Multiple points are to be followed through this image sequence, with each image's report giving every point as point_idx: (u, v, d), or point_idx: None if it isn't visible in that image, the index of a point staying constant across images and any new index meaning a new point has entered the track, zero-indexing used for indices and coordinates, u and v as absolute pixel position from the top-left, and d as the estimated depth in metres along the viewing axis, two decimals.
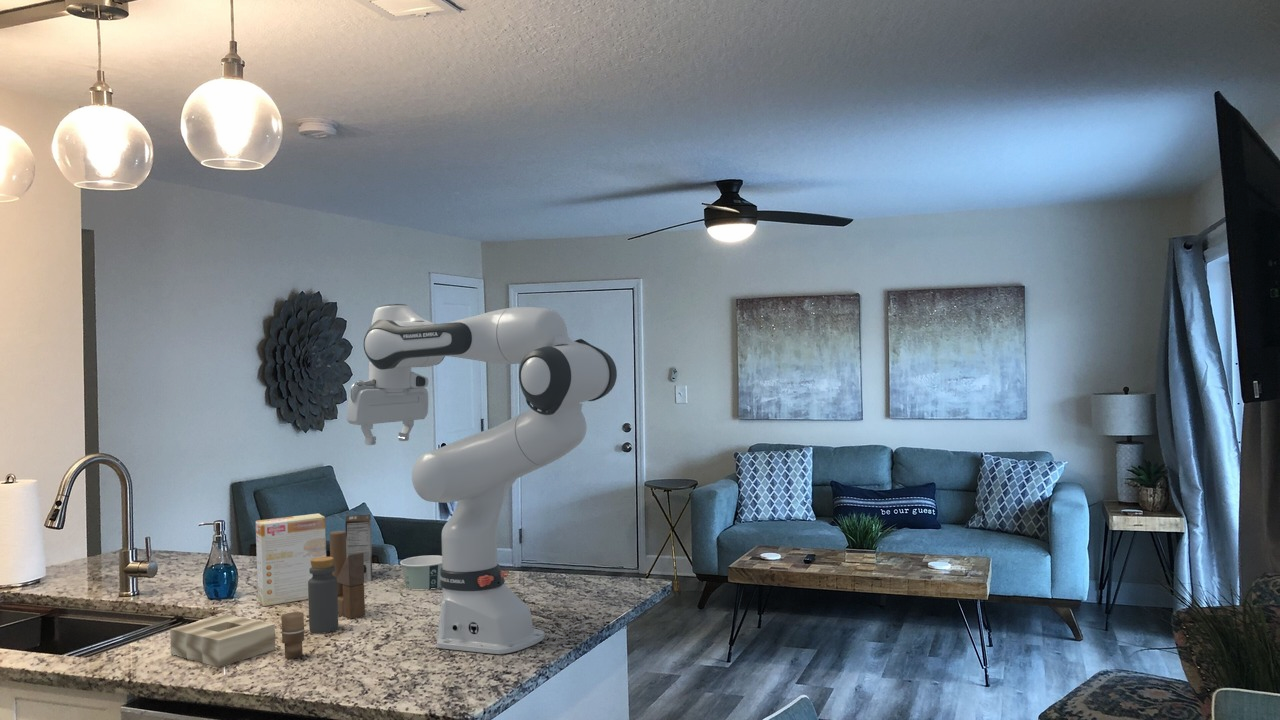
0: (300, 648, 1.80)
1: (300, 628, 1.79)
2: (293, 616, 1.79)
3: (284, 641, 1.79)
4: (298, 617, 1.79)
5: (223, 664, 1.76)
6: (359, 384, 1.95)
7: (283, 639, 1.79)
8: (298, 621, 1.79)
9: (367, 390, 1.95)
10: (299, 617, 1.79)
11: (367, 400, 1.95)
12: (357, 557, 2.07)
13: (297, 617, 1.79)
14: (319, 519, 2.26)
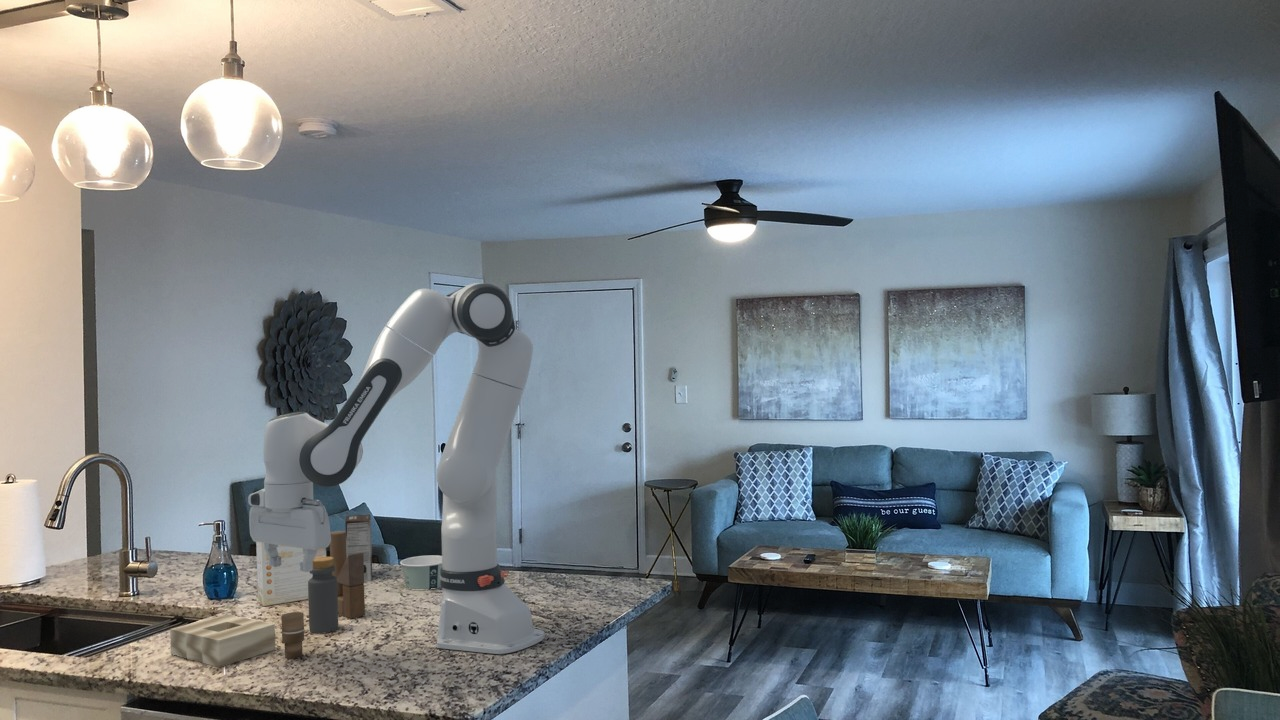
0: (300, 648, 1.80)
1: (300, 628, 1.79)
2: (293, 616, 1.79)
3: (284, 641, 1.79)
4: (298, 617, 1.79)
5: (223, 664, 1.76)
6: None
7: (283, 639, 1.79)
8: (298, 621, 1.79)
9: None
10: (299, 617, 1.79)
11: None
12: (357, 557, 2.07)
13: (297, 617, 1.79)
14: None
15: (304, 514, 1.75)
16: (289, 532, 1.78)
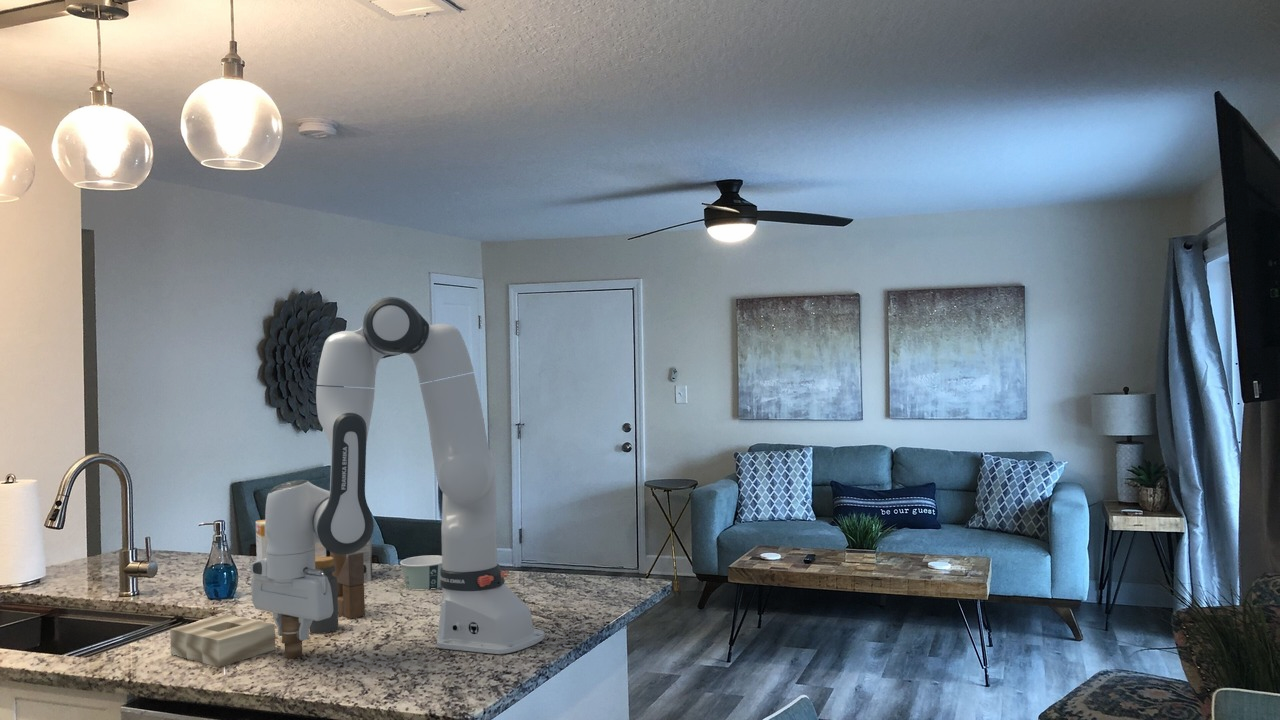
0: (300, 648, 1.80)
1: None
2: (293, 616, 1.79)
3: (284, 641, 1.79)
4: (298, 617, 1.79)
5: (223, 664, 1.76)
6: None
7: (283, 639, 1.79)
8: (298, 621, 1.79)
9: None
10: None
11: None
12: (357, 557, 2.07)
13: (297, 617, 1.79)
14: None
15: (307, 585, 1.75)
16: (291, 602, 1.78)
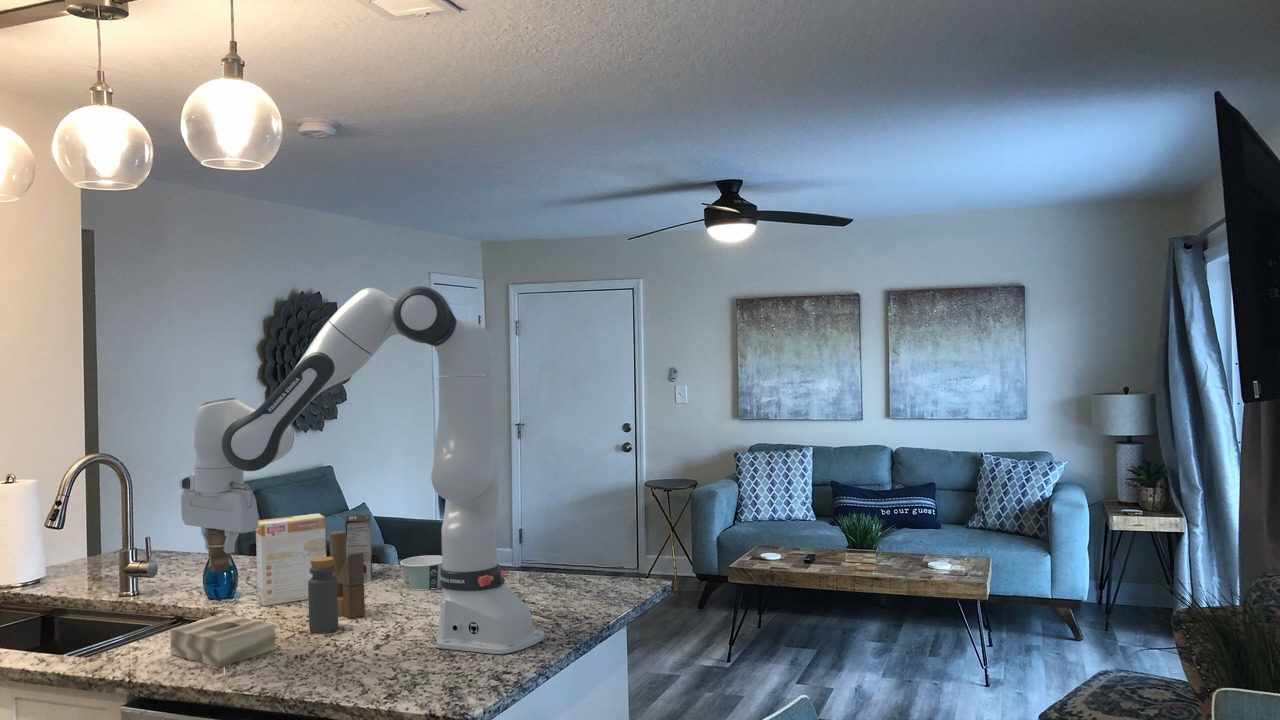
0: (226, 562, 1.84)
1: None
2: (219, 530, 1.83)
3: (210, 554, 1.82)
4: (224, 531, 1.83)
5: (223, 664, 1.76)
6: None
7: (209, 552, 1.83)
8: (224, 535, 1.83)
9: None
10: None
11: None
12: (357, 557, 2.07)
13: (223, 531, 1.83)
14: (319, 519, 2.26)
15: (232, 498, 1.79)
16: (218, 515, 1.81)
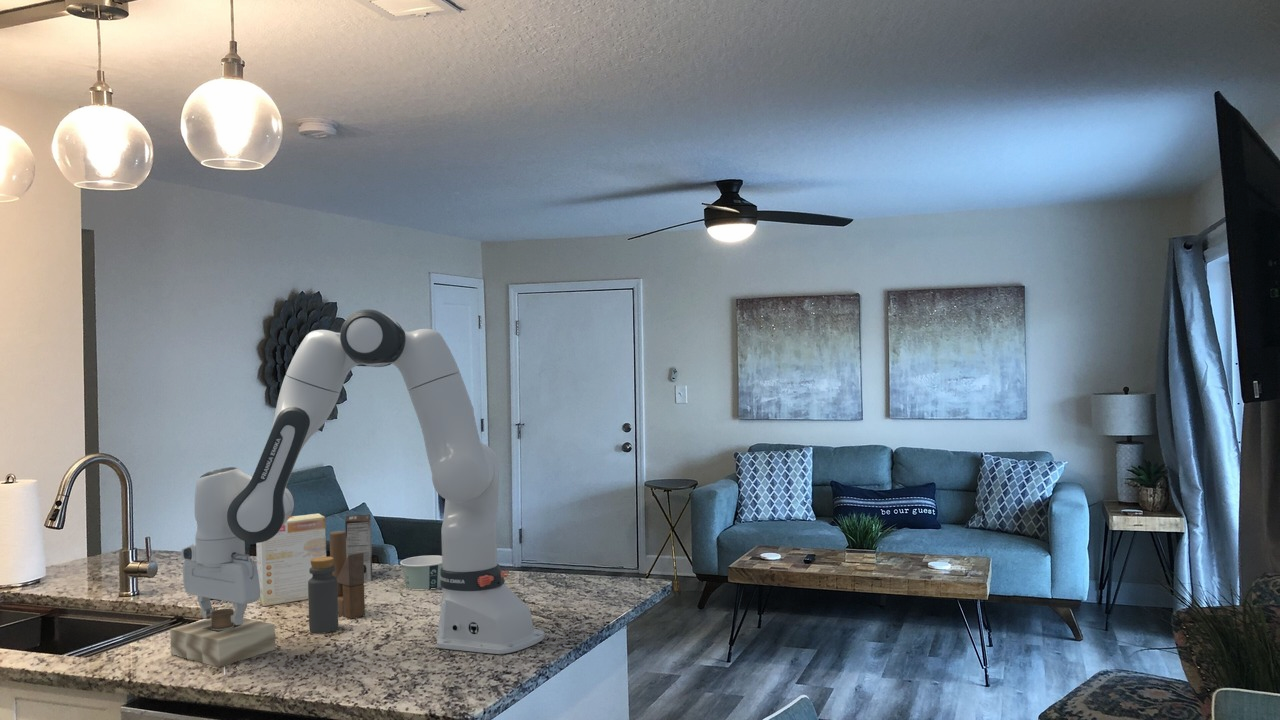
0: None
1: (229, 624, 1.83)
2: (222, 613, 1.83)
3: None
4: (227, 614, 1.83)
5: (223, 664, 1.76)
6: None
7: None
8: (227, 618, 1.83)
9: None
10: (229, 614, 1.83)
11: None
12: (357, 557, 2.07)
13: (226, 614, 1.83)
14: (319, 519, 2.26)
15: (234, 570, 1.79)
16: (220, 586, 1.82)
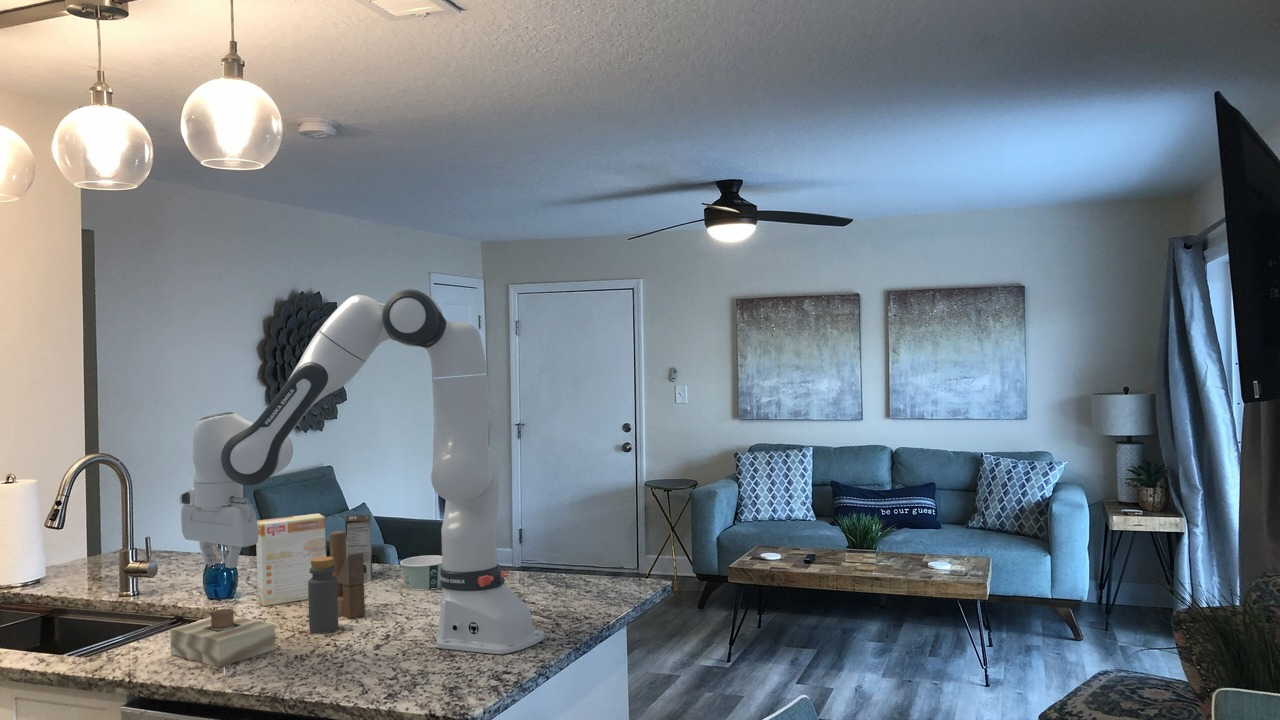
0: None
1: (229, 624, 1.83)
2: (222, 613, 1.83)
3: None
4: (227, 614, 1.83)
5: (223, 664, 1.76)
6: None
7: None
8: (227, 618, 1.83)
9: None
10: (229, 614, 1.83)
11: None
12: (357, 557, 2.07)
13: (226, 614, 1.83)
14: (319, 519, 2.26)
15: (232, 512, 1.79)
16: (218, 530, 1.82)
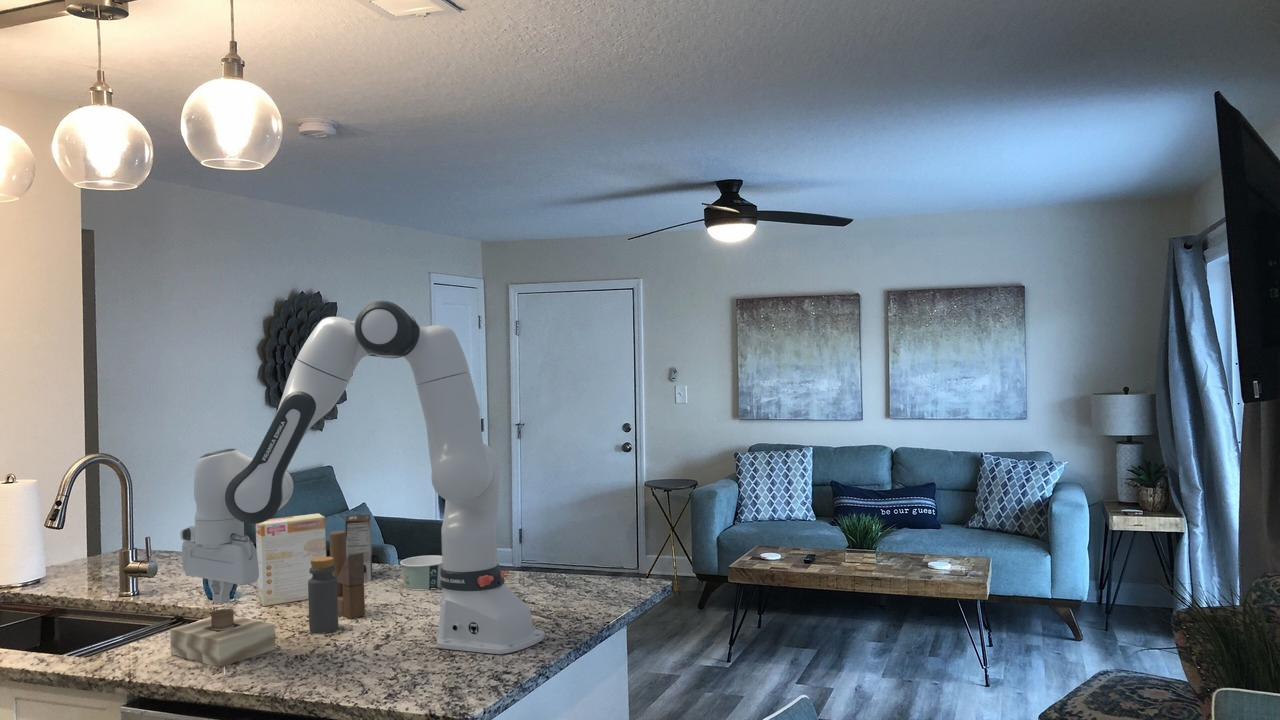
0: None
1: (229, 624, 1.83)
2: (222, 613, 1.83)
3: None
4: (227, 614, 1.83)
5: (223, 664, 1.76)
6: None
7: None
8: (227, 618, 1.83)
9: None
10: (229, 614, 1.83)
11: None
12: (357, 557, 2.07)
13: (226, 614, 1.83)
14: (319, 519, 2.26)
15: (233, 550, 1.79)
16: (219, 567, 1.82)
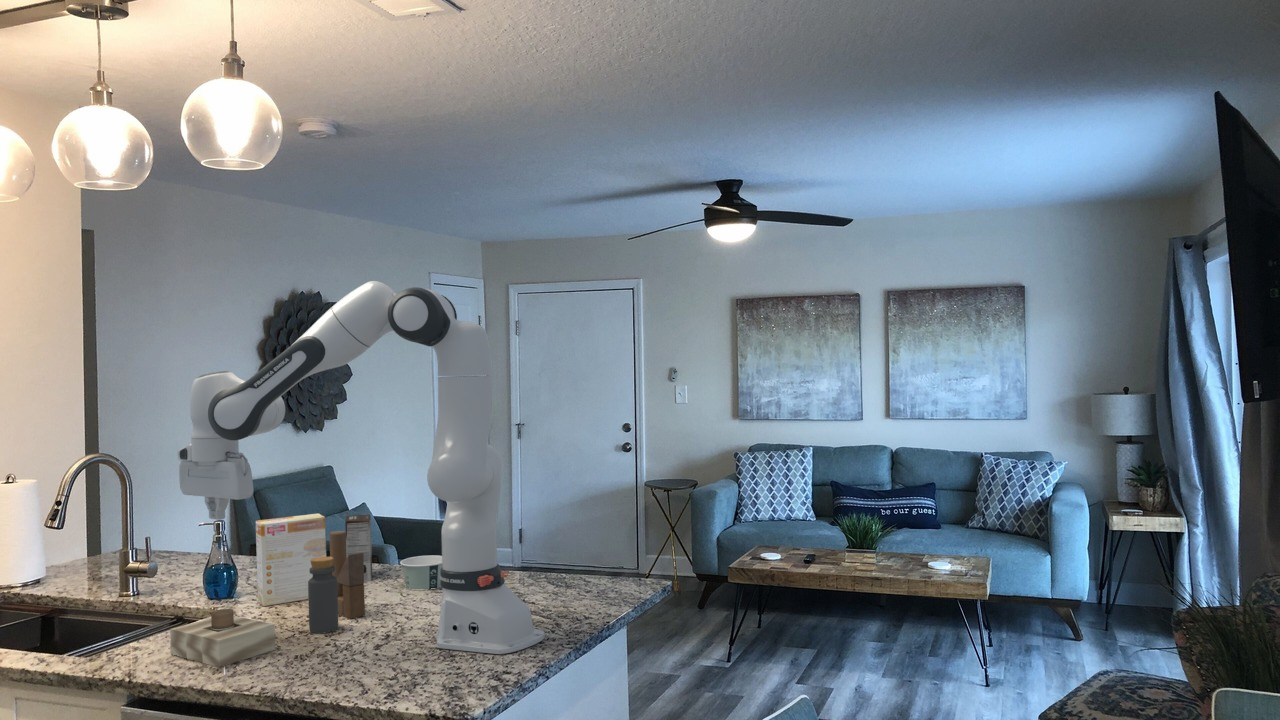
0: None
1: (229, 624, 1.83)
2: (222, 613, 1.83)
3: None
4: (227, 614, 1.83)
5: (223, 664, 1.76)
6: None
7: None
8: (227, 618, 1.83)
9: None
10: (229, 614, 1.83)
11: None
12: (357, 557, 2.07)
13: (226, 614, 1.83)
14: (319, 519, 2.26)
15: (228, 466, 1.86)
16: (214, 484, 1.89)
